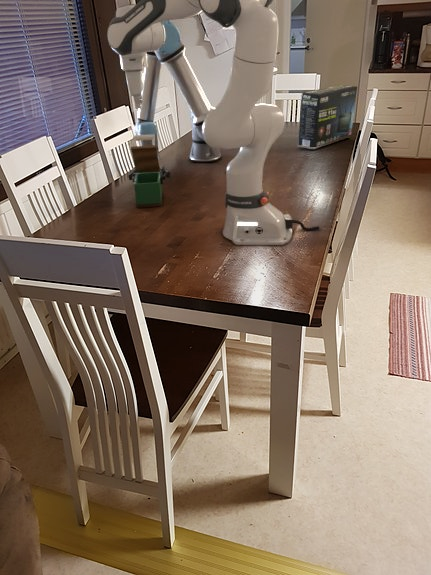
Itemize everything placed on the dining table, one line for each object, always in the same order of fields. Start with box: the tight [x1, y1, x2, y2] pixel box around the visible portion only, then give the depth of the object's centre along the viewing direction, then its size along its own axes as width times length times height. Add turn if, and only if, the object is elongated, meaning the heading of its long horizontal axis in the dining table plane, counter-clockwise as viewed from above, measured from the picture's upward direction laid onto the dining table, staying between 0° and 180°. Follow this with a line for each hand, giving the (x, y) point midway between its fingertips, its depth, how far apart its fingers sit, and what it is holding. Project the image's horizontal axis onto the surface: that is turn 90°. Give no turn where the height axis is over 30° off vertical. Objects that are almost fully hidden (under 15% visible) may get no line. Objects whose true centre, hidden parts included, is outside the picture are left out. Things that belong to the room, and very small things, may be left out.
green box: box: [133, 172, 163, 209], centre depth 177 cm, size 14×9×9 cm
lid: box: [130, 134, 161, 173], centre depth 175 cm, size 14×9×8 cm
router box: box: [297, 84, 358, 151], centre depth 238 cm, size 36×11×27 cm, turn 134°
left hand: (148, 181), depth 178 cm, fingers closed on green box, 9 cm apart
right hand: (139, 106), depth 159 cm, fingers open, 8 cm apart
